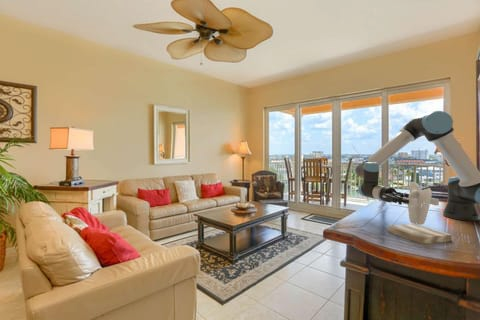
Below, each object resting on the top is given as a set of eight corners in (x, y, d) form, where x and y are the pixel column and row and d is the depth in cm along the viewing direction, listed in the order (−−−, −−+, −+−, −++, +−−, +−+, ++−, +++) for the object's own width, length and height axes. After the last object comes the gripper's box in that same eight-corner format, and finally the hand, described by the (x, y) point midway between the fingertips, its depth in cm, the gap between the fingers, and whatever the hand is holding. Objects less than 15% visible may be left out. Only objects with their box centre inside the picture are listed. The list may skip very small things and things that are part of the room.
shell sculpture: (430, 227, 100) (433, 184, 100) (406, 224, 105) (408, 182, 104) (428, 222, 107) (430, 182, 107) (405, 219, 112) (407, 181, 111)
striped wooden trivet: (415, 228, 116) (415, 223, 116) (451, 240, 100) (451, 234, 100) (387, 231, 112) (387, 225, 112) (420, 244, 96) (420, 237, 96)
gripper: (402, 200, 126) (448, 210, 104) (365, 202, 120) (405, 213, 99) (403, 186, 126) (449, 193, 104) (365, 187, 120) (405, 194, 99)
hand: (427, 202), depth 102 cm, fingers closed on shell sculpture, 10 cm apart
